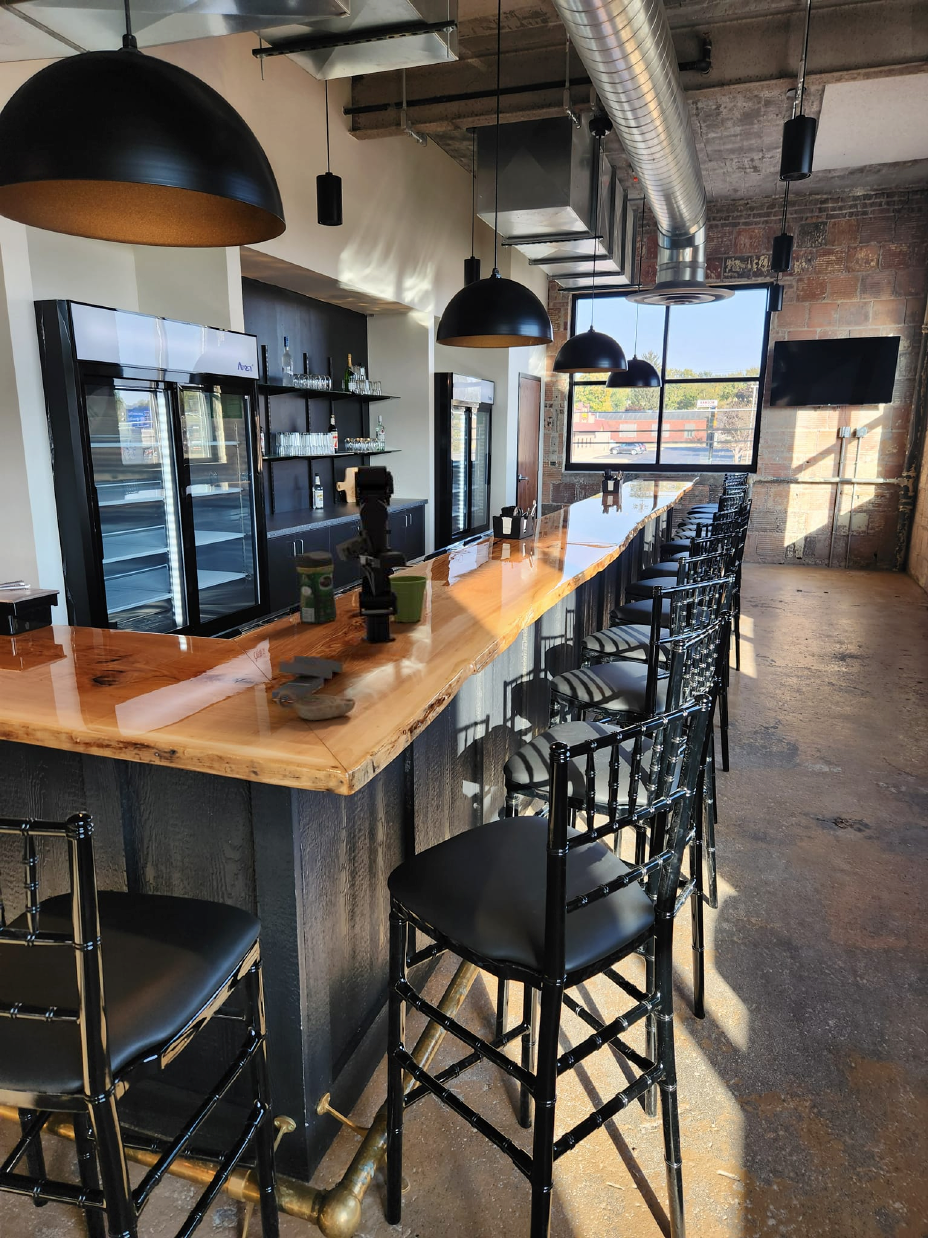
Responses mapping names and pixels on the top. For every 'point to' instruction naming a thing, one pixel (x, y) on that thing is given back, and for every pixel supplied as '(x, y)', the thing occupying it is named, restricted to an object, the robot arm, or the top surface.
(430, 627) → the top surface
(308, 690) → the domino
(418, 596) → the plant pot
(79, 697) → the top surface
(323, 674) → the domino
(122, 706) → the top surface
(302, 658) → the domino
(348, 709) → the oil lamp
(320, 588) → the coffee jar
